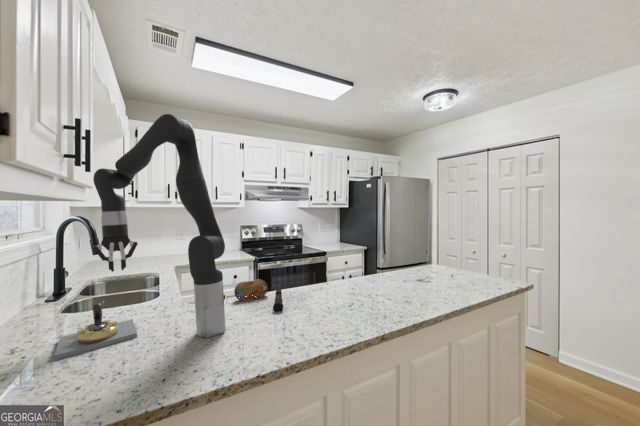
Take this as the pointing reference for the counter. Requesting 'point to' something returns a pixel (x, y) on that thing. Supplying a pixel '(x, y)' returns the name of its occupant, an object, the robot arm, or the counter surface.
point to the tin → (251, 289)
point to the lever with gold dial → (97, 328)
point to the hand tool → (278, 301)
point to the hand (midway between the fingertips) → (117, 270)
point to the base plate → (72, 347)
